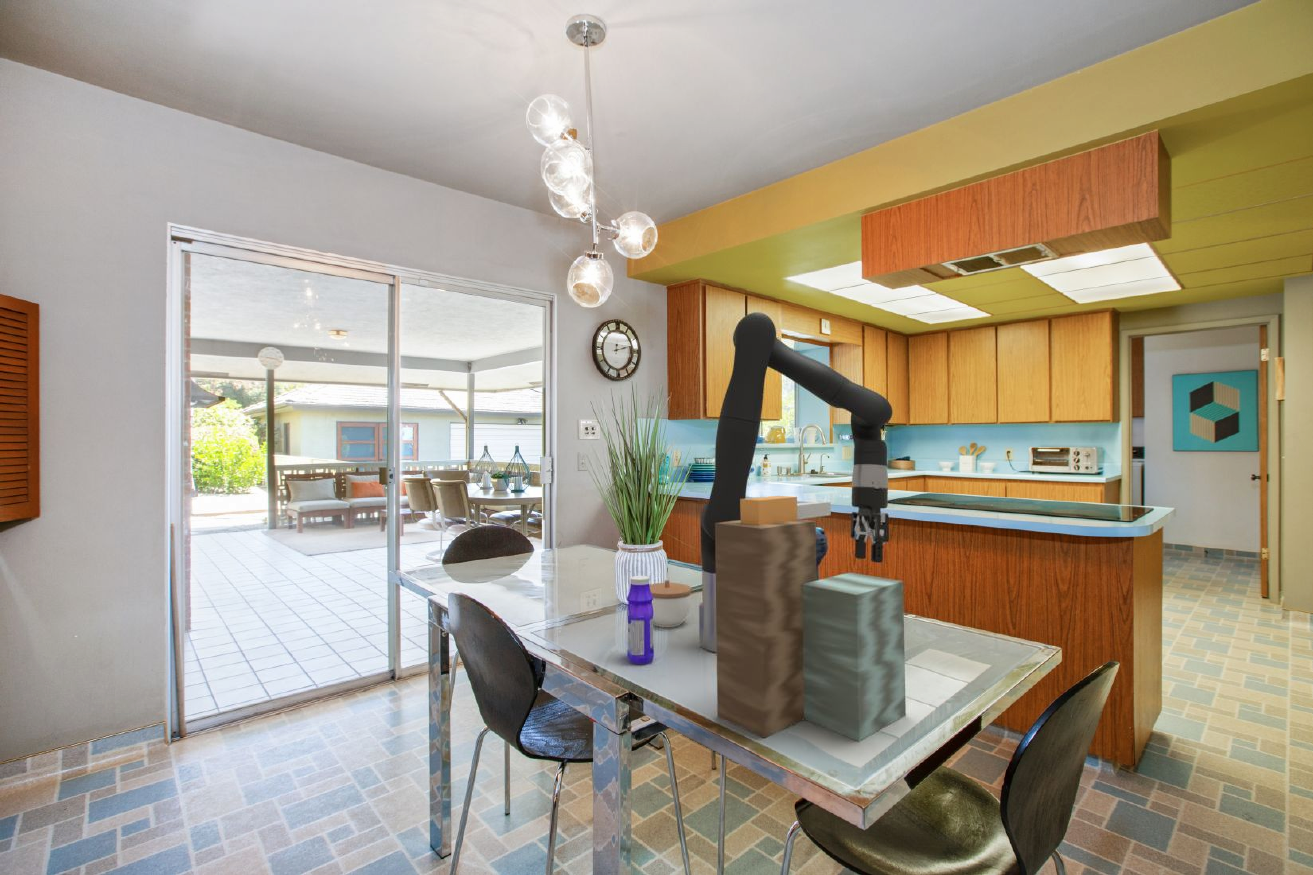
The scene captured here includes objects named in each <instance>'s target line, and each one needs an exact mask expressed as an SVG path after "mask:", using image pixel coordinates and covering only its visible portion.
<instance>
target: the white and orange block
mask: <svg viewBox="0 0 1313 875" xmlns="http://www.w3.org/2000/svg"><path fill="white" fill-rule="evenodd" d="M740 511H741V523H744V524H752V525H765V524H773V523H780V522H788V521H796V520H797V519H798V520H805V519H811V518H818V517H826V516H831V511H832V509H831V501H821V500H820V501H812V502H811V501H810V502H809V501H808V502H800V503H798V497H797V496H788V495H787V496H786V495H773V496H772V495H771V496H760V497H749V498H748V497H747V498H745V499H740Z"/></svg>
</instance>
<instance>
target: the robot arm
mask: <svg viewBox="0 0 1313 875" xmlns="http://www.w3.org/2000/svg"><path fill="white" fill-rule="evenodd" d="M732 342H733V347H734V357H733V366H732V372H731V376H730V379H729V381H728V382H729V383H728V386H727V389H726V392H725V394H724V398H723V401H722V405H721V409H720V412H719V419H718V423H717V429H716V436H715V448H714V449H715V451H714V453H715V454H714V457H715V458H714V466H715V468H714V476H713V477H714V478H713V482H712V483H713V484H712V487H711V491H710V494H709V498H708V501H707V502H706V504H704V506H703V508H702V510H701V513H700V520H699V522H700V526H699V528H700V557H701V576H702V577H701V588H702V593H701V594H702V599H701V600H702V602H701V603H699V605H698V634H699V635H698V637H699V639H698V641H699V642H698V643H699V645H698V646H699V648H703V649H705V650H707V651H709V652H713V653H717V636H716V556H715V523H721V522H729V521H737V520H741V511H740V499H747V485H748V481H749V475H750V471H751V468H752V465H753V460H754V457H755V456H754V455H755V452H756V447H757V443H758V439H759V432H760V427H761V422H762V421H761V419H762V411H763V403H764V402H763V401H764V393H765V392H764V391H765V379H766V374H767V369H768V368H769V369H771V370H774V371H775V372H777V373H779V374H781V375H783V376H785V377H786V378H788V379H790V380H791V381H792V382H794V383H796V384H797V385H799V386H800V387H802V388H803V389H805V390H806V391H808V392H809V393H811V394H812V395H814V396H815V397H817V398H818V399H819V400H821V401H823V402H824V403H825V404H827V405H829V406H830V407H832V408H835V409H842V410H843V409H844V410H845V411H847V412H849V413H851V414H850V430H851V435H852V436H851V437H852V441H853V446H854V447H853V469H852V475H851V506H852V507H853V508H858V511H852V512H851V523H850V538H851V539H853V542H854V543H855V545H854V546H855V547H854V548H855V549H854V558H855V559H858V560H864V559H866V557H867V556H866V555H867V538H868V537H869V538H870V542H871V545H870V548H871V549H870V552H871V553H870V556H871V557H870V560H871V562H872V563H880V564H881V563H882V562H883V557H884V556H883V555H884V553H883V552H884V545H885V544H886V543H888V542H889V541H890V534H889V533H890V531H889V530H890V525H889V523H890V522H889V521H890V520H889V517H890V516H889V513H887V512H886V513H885V512H882V511H881V510H882V509H884V510H885V509H887V508H888V503H889V502H888V501H889V500H888V499H889V497H888V496H889V495H888V494H889V474H888V447H887V446H888V445H887V444H886V441H884V440H882V428H881V427H883V426H884V425H886V424H887V423H889V422H890V421H891V419H892V416H893V407H892V405H891V403H890V402H889V401H888V399H887V398H886V397H884V396H883V395H882V394H880V393H878V392H876V391H874V390H872V389H871V388H868V387H865V386H862V385H861V384H858V383H855V382H853V381H851V380H850V379H848V378H847V377H845V376H844V375H842V374H841V373H839V372H838V371H836V370H835V369H833V368H832V367H830V366H828V365H827V364H824V363H823V362H820V361H818V360H816V359H814V358H811V357H809V356H806V355H804V354H802V353H800V352H798V351H797V350H794V349H793V348H791V347H790V346H788V345H786V344H785V343H784V342H783V341H782V340H781V339H779V338H778V337H777V328H776V325H775V323H774V321H773V320H772V318H771V317H769V315H767V314H765V313H763V312H761V311H760V312H757V311H756V312H751V313H748V314H746V315H745V316H743V317H742V318H741V319H740V320H739V322H738V323H737V324H736V327H735V329H734V331H733V334H732Z"/></svg>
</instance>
